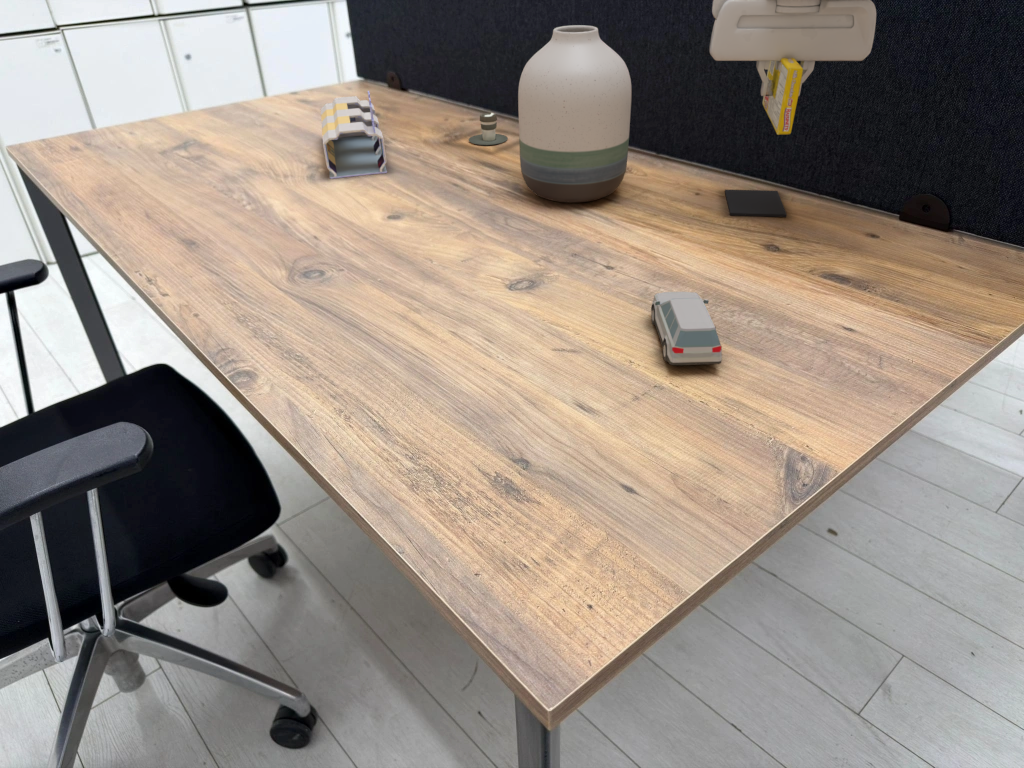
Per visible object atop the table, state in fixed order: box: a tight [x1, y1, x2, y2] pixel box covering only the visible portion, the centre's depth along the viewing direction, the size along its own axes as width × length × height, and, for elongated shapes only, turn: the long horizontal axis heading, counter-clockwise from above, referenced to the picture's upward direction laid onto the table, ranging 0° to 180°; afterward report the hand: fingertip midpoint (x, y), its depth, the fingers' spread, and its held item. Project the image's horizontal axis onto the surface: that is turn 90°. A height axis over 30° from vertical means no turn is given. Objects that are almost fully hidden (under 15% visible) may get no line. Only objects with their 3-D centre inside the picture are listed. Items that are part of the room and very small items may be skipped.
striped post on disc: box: [468, 112, 509, 146], centre depth 141 cm, size 12×12×5 cm
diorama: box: [320, 90, 388, 179], centre depth 133 cm, size 25×10×13 cm, turn 13°
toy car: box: [650, 291, 723, 366], centre depth 76 cm, size 6×13×5 cm, turn 0°
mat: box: [724, 189, 788, 218], centre depth 110 cm, size 8×10×1 cm
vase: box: [517, 24, 633, 204], centre depth 110 cm, size 17×17×24 cm
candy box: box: [762, 58, 803, 136], centre depth 98 cm, size 16×2×8 cm, turn 171°
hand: (779, 95), depth 99 cm, fingers closed on candy box, 2 cm apart
